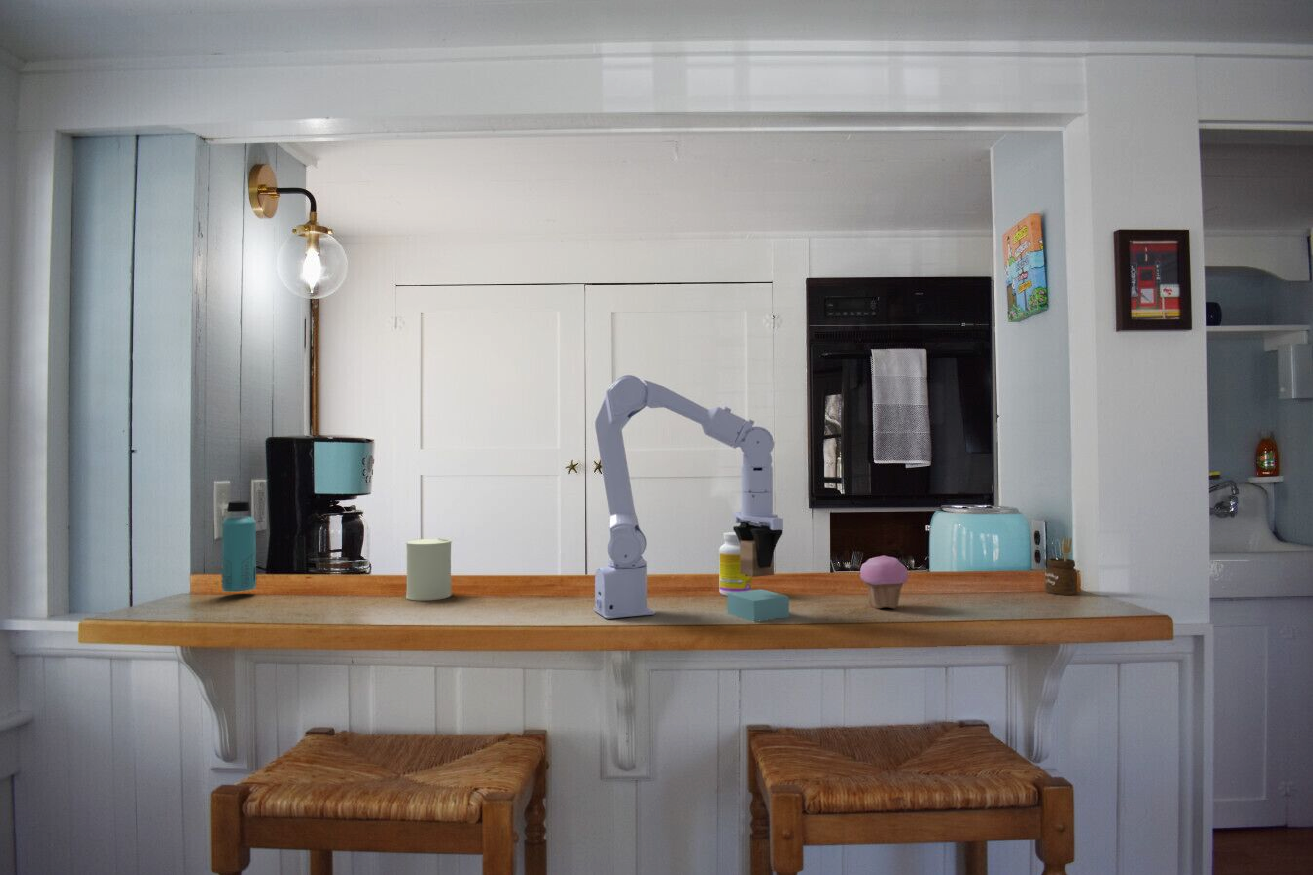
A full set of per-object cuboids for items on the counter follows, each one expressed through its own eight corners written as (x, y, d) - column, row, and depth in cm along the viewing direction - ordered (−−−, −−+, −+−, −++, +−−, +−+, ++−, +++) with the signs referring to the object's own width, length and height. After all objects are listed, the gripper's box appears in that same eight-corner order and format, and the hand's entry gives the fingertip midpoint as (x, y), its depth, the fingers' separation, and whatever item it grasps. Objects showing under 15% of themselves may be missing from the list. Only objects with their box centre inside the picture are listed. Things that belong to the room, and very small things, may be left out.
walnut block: (752, 576, 132) (752, 543, 132) (740, 572, 137) (740, 540, 137) (774, 575, 134) (773, 542, 134) (761, 571, 138) (761, 539, 138)
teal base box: (753, 623, 130) (753, 600, 130) (727, 614, 137) (727, 593, 137) (788, 618, 134) (788, 596, 134) (761, 610, 141) (761, 589, 141)
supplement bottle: (749, 597, 151) (749, 535, 151) (717, 596, 152) (717, 534, 152) (751, 591, 158) (751, 531, 158) (721, 590, 159) (720, 531, 159)
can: (455, 598, 151) (455, 540, 152) (409, 602, 147) (409, 542, 148) (447, 590, 160) (447, 535, 160) (403, 594, 156) (403, 537, 156)
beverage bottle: (259, 596, 154) (259, 500, 154) (222, 600, 150) (223, 502, 150) (254, 591, 159) (254, 499, 159) (218, 595, 155) (219, 500, 155)
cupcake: (902, 603, 145) (901, 552, 145) (913, 613, 136) (913, 559, 137) (856, 602, 146) (855, 552, 146) (864, 612, 137) (864, 558, 137)
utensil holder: (1069, 590, 158) (1068, 534, 158) (1083, 596, 152) (1082, 538, 152) (1040, 589, 158) (1039, 534, 159) (1053, 595, 152) (1053, 537, 152)
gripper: (797, 493, 130) (797, 569, 130) (756, 489, 144) (756, 558, 144) (762, 494, 128) (763, 572, 128) (724, 490, 141) (724, 560, 141)
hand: (757, 565), depth 135 cm, fingers closed on walnut block, 4 cm apart
